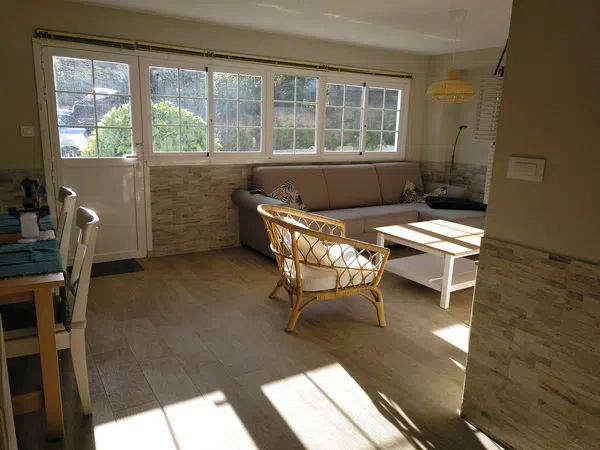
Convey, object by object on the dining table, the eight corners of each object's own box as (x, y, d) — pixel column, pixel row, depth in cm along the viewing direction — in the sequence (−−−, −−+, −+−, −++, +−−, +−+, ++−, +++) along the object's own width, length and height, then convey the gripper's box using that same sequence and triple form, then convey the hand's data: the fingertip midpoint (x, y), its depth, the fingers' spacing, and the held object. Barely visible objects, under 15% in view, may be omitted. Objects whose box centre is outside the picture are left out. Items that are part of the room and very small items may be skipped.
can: (31, 238, 229) (29, 215, 226) (18, 237, 230) (16, 214, 227) (42, 235, 236) (40, 212, 233) (29, 234, 237) (27, 211, 235)
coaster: (19, 240, 226) (19, 238, 226) (37, 238, 229) (37, 237, 229) (16, 244, 219) (16, 242, 219) (35, 243, 222) (35, 241, 222)
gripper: (6, 190, 228) (3, 216, 220) (48, 189, 235) (47, 215, 227) (10, 203, 237) (8, 228, 229) (51, 202, 244) (50, 226, 236)
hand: (29, 224), depth 230 cm, fingers closed on can, 7 cm apart
